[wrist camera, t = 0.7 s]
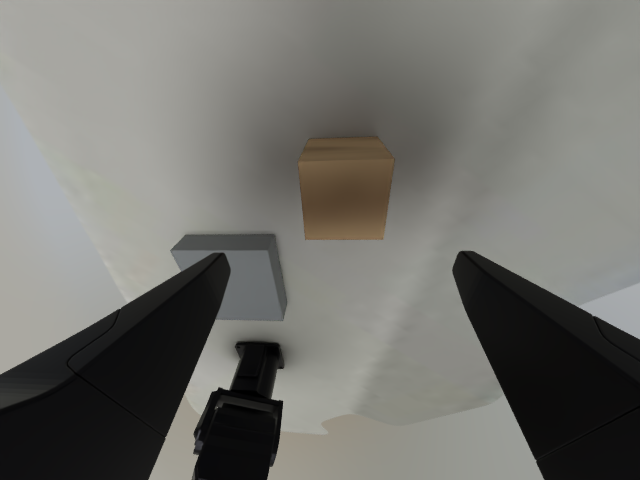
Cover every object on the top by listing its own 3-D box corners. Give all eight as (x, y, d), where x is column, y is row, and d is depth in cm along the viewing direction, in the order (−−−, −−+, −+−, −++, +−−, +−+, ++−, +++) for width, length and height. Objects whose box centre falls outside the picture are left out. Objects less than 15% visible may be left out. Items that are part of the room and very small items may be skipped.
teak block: (371, 199, 19) (383, 239, 14) (313, 200, 20) (305, 239, 15) (377, 136, 16) (394, 159, 11) (309, 138, 17) (297, 161, 12)
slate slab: (287, 299, 28) (283, 320, 25) (217, 298, 29) (206, 319, 26) (275, 232, 22) (267, 250, 20) (187, 232, 23) (170, 250, 20)
